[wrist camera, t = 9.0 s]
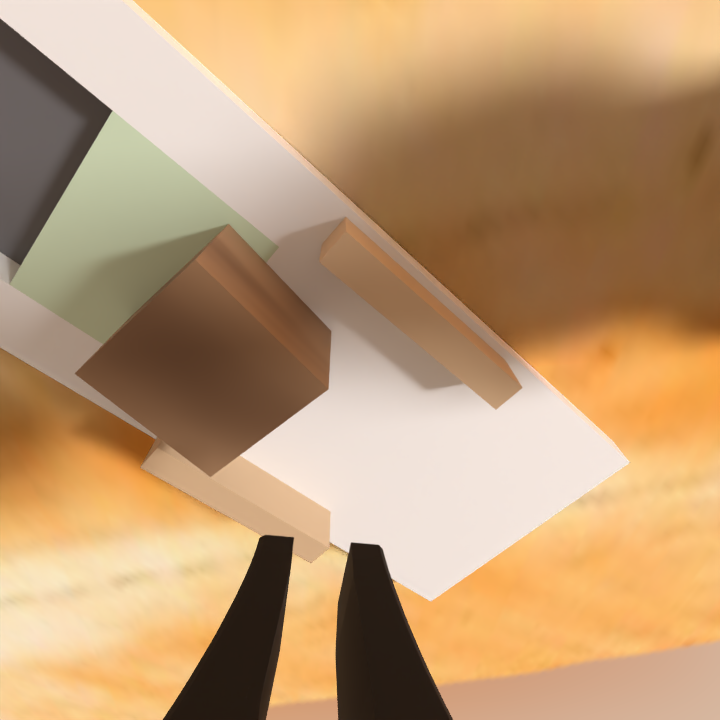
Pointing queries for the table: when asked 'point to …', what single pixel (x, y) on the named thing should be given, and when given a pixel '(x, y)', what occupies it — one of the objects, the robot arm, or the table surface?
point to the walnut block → (215, 356)
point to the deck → (298, 270)
